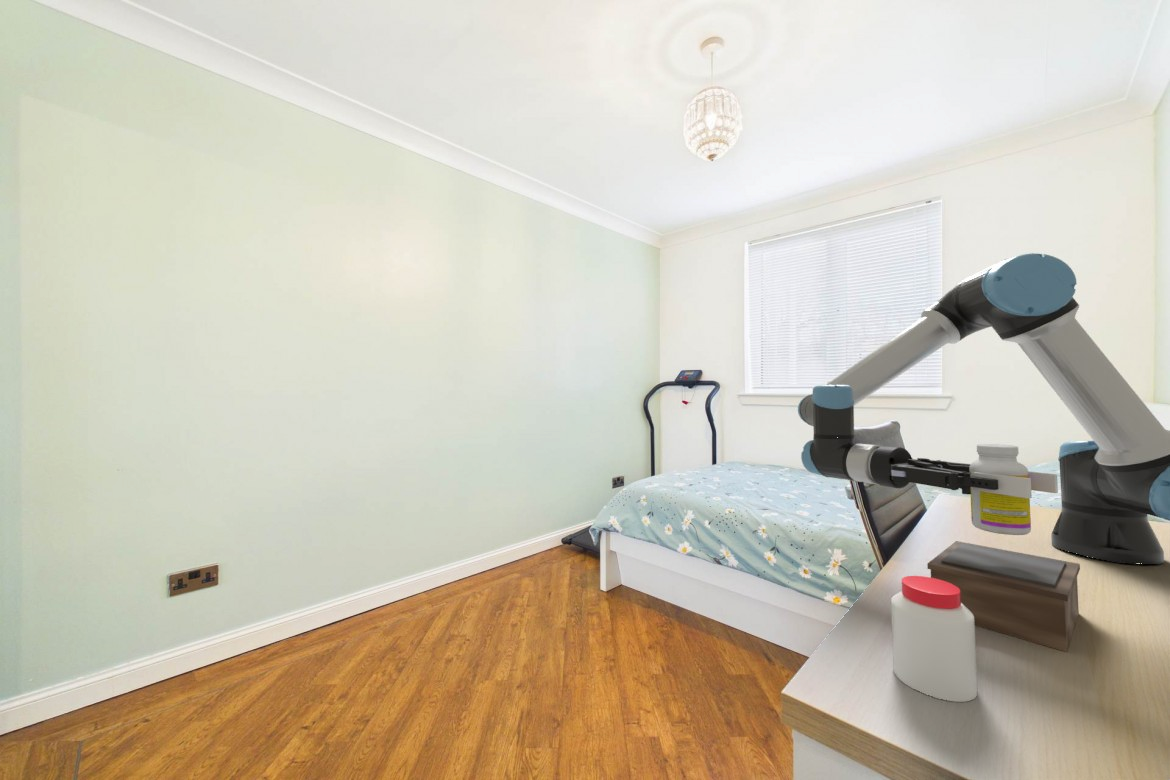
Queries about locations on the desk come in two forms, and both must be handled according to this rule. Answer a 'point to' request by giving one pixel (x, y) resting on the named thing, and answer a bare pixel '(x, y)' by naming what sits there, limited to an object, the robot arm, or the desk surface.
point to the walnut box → (1013, 591)
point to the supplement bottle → (996, 508)
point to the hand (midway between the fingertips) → (1043, 486)
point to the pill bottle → (934, 639)
